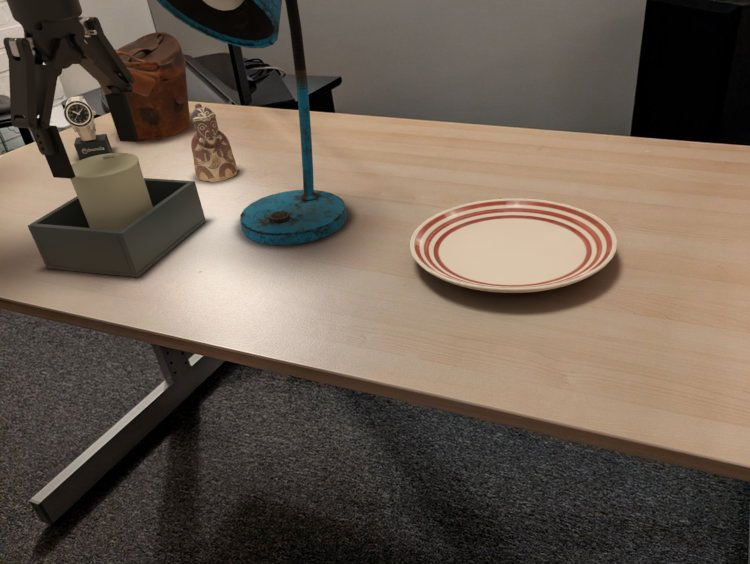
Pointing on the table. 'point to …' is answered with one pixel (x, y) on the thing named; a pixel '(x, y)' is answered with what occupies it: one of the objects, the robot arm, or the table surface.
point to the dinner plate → (513, 245)
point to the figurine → (211, 148)
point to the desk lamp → (308, 206)
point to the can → (111, 190)
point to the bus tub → (120, 233)
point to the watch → (85, 128)
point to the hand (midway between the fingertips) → (99, 158)
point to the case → (156, 85)
